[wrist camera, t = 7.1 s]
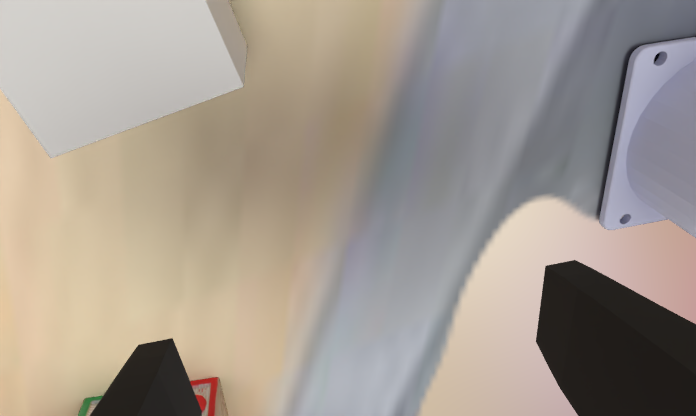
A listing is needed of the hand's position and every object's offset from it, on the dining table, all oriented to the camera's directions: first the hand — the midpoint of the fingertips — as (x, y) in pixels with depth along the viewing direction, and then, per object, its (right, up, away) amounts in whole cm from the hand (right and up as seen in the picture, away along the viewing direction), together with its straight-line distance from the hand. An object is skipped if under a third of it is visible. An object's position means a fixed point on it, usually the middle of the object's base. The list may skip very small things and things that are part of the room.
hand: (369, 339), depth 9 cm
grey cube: (-7, +9, +5) cm, 12 cm away
